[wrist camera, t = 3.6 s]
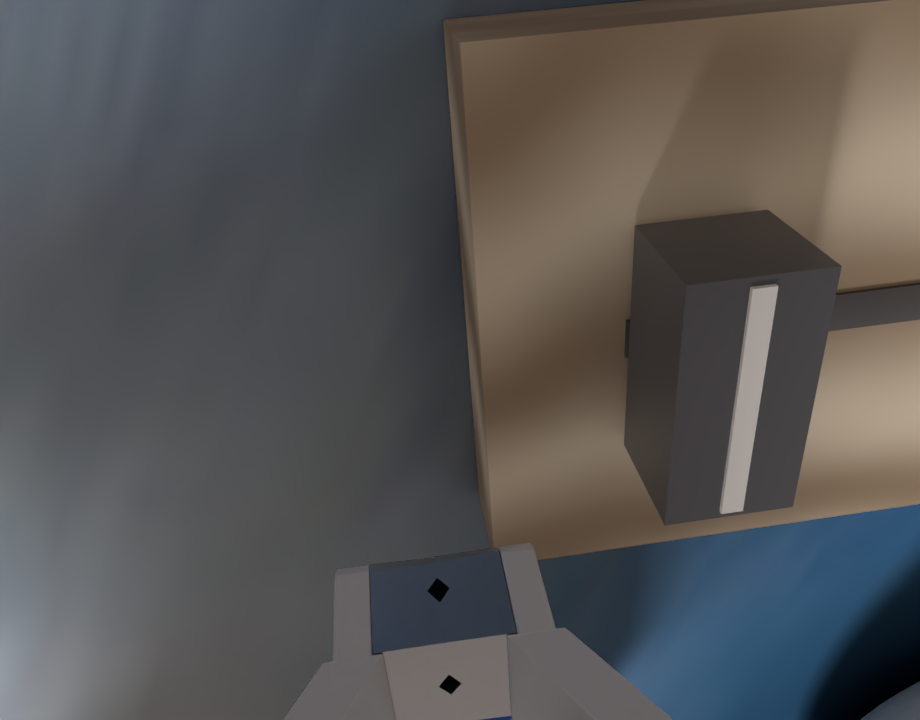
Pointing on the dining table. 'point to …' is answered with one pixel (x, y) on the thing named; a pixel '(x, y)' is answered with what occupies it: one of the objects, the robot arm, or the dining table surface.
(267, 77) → the dining table surface
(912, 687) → the serving bowl
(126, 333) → the dining table surface
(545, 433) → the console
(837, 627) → the dining table surface
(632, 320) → the fader
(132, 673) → the dining table surface
